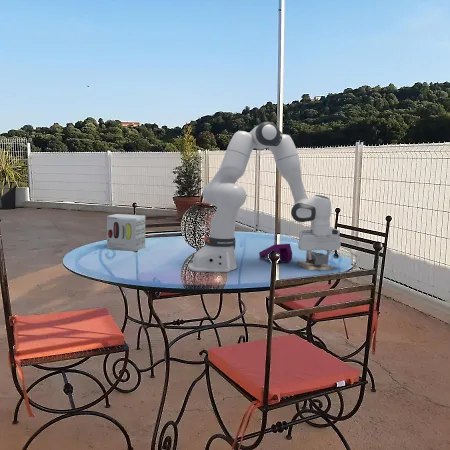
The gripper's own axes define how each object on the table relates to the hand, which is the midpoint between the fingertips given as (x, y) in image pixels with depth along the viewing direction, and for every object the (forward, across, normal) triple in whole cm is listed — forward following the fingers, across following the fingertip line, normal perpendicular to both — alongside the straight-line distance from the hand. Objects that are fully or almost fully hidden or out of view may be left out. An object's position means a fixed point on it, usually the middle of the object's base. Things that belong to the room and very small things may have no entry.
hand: (318, 259), depth 214 cm
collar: (+2, 0, 0) cm, 2 cm away
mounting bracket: (+5, -15, +20) cm, 26 cm away
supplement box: (+5, -86, +59) cm, 104 cm away
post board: (+4, 0, +4) cm, 6 cm away
